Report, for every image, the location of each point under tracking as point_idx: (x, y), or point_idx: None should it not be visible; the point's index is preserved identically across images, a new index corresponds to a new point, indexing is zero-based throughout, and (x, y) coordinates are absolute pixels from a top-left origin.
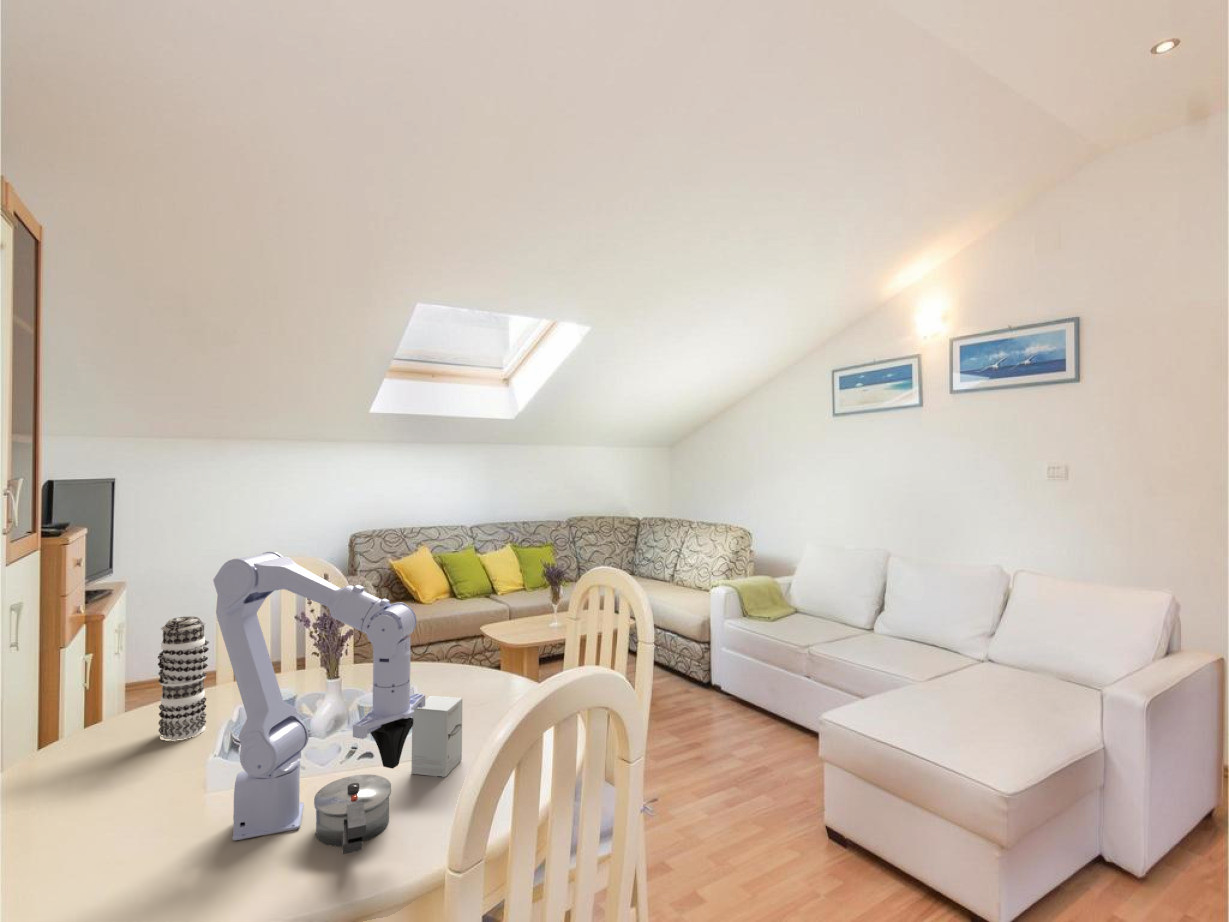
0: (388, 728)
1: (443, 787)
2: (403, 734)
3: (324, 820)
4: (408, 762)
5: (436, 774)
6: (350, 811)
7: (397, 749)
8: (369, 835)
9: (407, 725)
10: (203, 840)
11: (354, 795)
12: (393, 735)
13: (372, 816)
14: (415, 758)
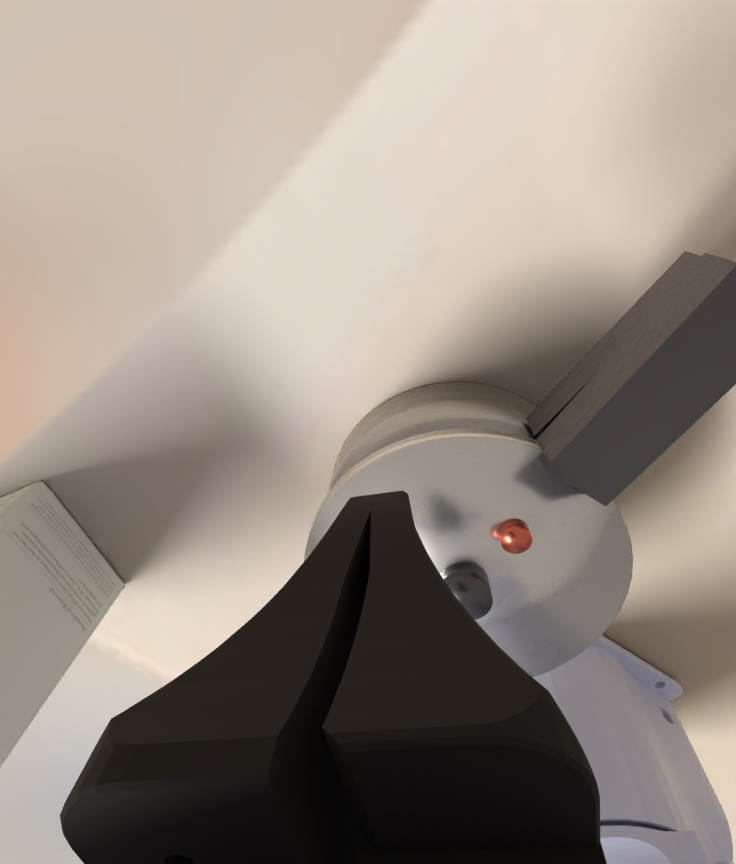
0: (517, 850)
1: (84, 435)
2: (301, 655)
3: None
4: (95, 638)
5: (62, 513)
6: (648, 446)
7: (377, 563)
8: (484, 390)
9: (239, 740)
10: (700, 733)
11: (511, 545)
12: (544, 689)
13: (480, 419)
14: (85, 617)
